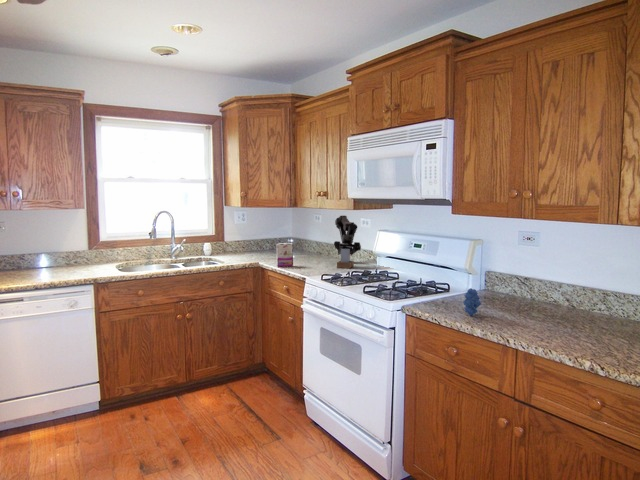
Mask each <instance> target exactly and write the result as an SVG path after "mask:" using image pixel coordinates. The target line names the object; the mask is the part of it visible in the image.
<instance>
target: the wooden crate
mask: <svg viewBox="0 0 640 480" xmlns="http://www.w3.org/2000/svg"><path fill="white" fill-rule="evenodd" d="M354 263H355V262H354V261H353V260H350V263H342V262H341V260H340V261H337V262H336V269H346V270H350V269H353V268H354Z"/></svg>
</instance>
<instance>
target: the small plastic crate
mask: <svg viewBox="0 0 640 480" xmlns="http://www.w3.org/2000/svg"><path fill="white" fill-rule="evenodd" d="M350 258H351V254H350V249H341V254H340V261H341V262H342V263H350V261H351V259H350Z"/></svg>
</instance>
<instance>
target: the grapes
mask: <svg viewBox="0 0 640 480" xmlns="http://www.w3.org/2000/svg"><path fill="white" fill-rule="evenodd" d="M464 298H465V299H464V300H463V301H462V302H463V303H462V304H463V305H464V311H465V312H466V313H467V315H469V316H473V315H475V314H476V313H477V312H478V308H479V307H480V306H481V305H482V302H481V301H480V299H481V298H480V296H479V295H478V290H476V289H474V288H468V289H467V290H466V292H465V294H464Z"/></svg>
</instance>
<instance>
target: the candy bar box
mask: <svg viewBox="0 0 640 480" xmlns="http://www.w3.org/2000/svg"><path fill="white" fill-rule="evenodd" d="M276 267H277V268H287V267H288V268H289V267H294V244H293V243H292V242H286V243H285V242H283V243H276Z"/></svg>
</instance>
